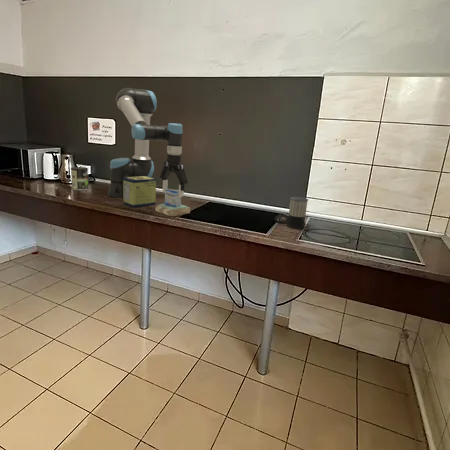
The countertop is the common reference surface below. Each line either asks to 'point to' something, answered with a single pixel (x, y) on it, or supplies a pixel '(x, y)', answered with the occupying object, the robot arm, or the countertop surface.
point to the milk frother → (295, 213)
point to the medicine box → (172, 198)
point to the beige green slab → (172, 211)
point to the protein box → (139, 191)
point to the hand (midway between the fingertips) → (172, 194)
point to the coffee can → (79, 178)
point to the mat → (172, 207)
